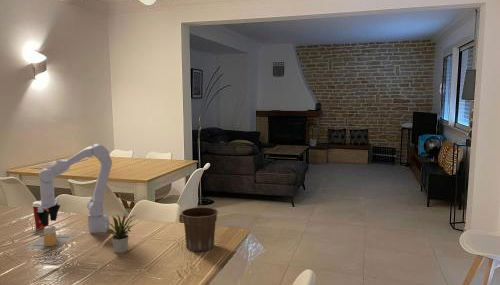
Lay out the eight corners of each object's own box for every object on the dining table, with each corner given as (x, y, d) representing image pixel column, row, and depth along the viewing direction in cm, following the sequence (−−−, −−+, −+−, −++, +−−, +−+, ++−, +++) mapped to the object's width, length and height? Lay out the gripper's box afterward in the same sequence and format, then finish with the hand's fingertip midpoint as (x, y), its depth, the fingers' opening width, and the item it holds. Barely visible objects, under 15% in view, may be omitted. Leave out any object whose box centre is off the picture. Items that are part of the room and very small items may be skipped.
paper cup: (43, 231, 192) (41, 204, 190) (30, 230, 193) (28, 203, 192) (54, 226, 199) (52, 200, 198) (41, 225, 201) (39, 199, 199)
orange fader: (56, 243, 172) (55, 233, 171) (53, 246, 169) (52, 235, 168) (47, 243, 172) (46, 233, 171) (44, 246, 169) (43, 235, 168)
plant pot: (195, 238, 183) (194, 205, 181) (225, 243, 176) (224, 209, 174) (174, 249, 168) (173, 214, 166) (205, 256, 161) (205, 219, 159)
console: (74, 236, 184) (74, 234, 184) (56, 251, 167) (56, 248, 166) (45, 236, 184) (45, 234, 184) (24, 251, 166) (23, 248, 166)
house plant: (146, 246, 172) (145, 211, 170) (127, 258, 159) (126, 220, 157) (120, 242, 176) (119, 208, 175) (99, 254, 163) (97, 217, 162)
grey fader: (55, 236, 182) (55, 225, 181) (52, 238, 179) (52, 227, 178) (47, 236, 182) (46, 225, 181) (44, 238, 179) (43, 227, 178)
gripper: (47, 191, 185) (48, 218, 187) (30, 198, 171) (32, 228, 172) (61, 190, 185) (63, 218, 187) (45, 198, 171) (47, 228, 172)
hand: (49, 223), depth 180 cm, fingers open, 7 cm apart
